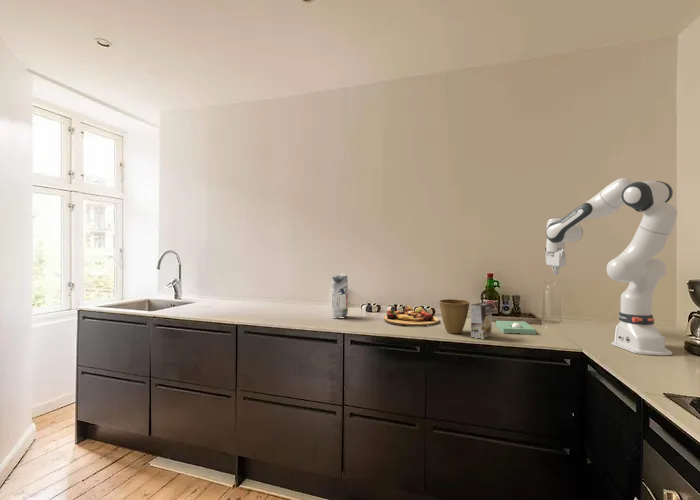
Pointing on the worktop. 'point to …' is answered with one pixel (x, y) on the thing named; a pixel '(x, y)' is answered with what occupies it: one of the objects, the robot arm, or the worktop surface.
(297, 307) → the worktop surface
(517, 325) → the ball
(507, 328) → the putting board
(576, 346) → the worktop surface
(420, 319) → the wooden plate with food
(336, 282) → the juice carton
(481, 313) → the coffee box
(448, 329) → the plant pot
